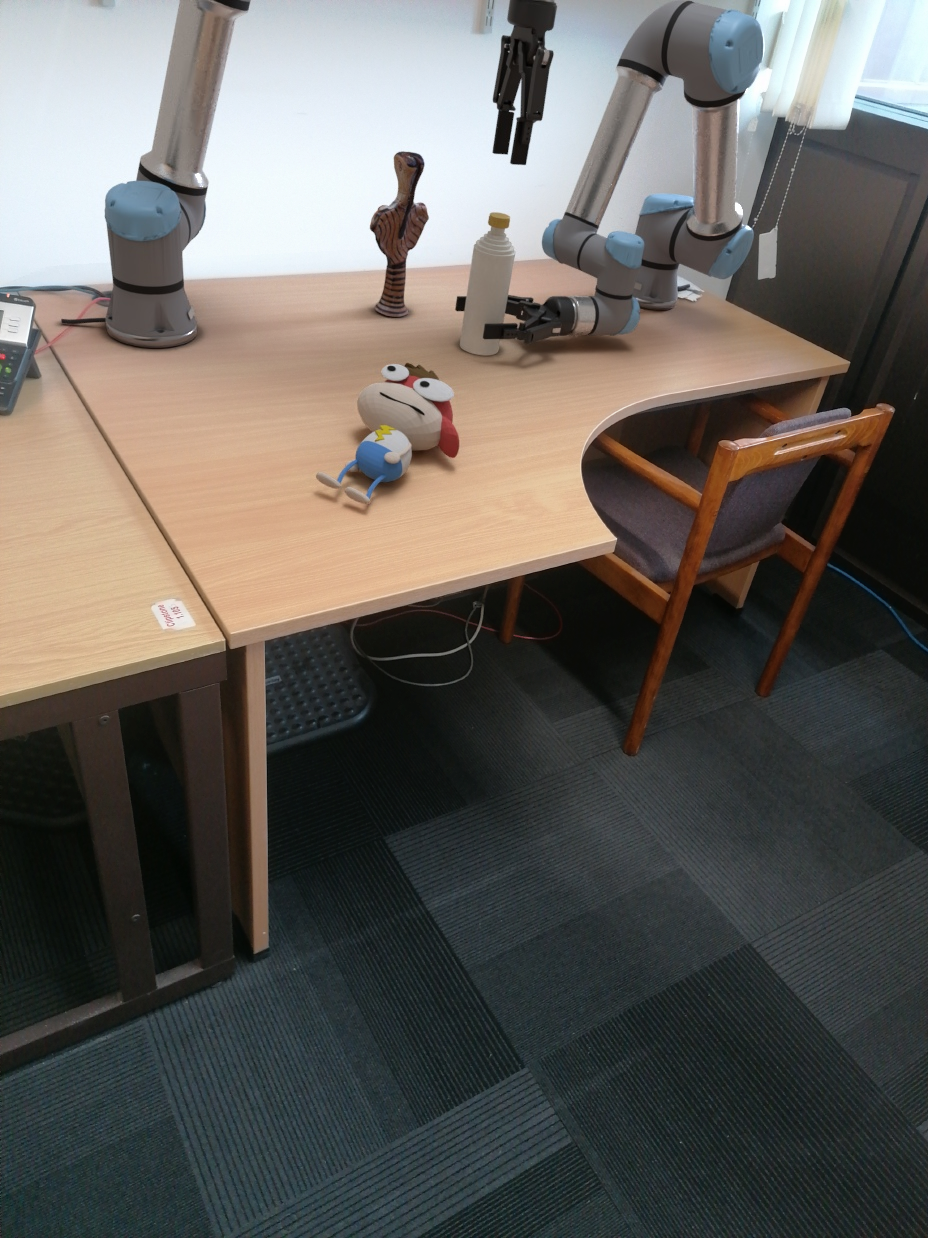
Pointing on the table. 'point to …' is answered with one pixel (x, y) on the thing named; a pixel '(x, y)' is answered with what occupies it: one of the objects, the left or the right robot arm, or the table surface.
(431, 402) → the toy
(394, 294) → the figurine
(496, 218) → the cap
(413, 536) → the table surface
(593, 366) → the table surface
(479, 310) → the bottle
